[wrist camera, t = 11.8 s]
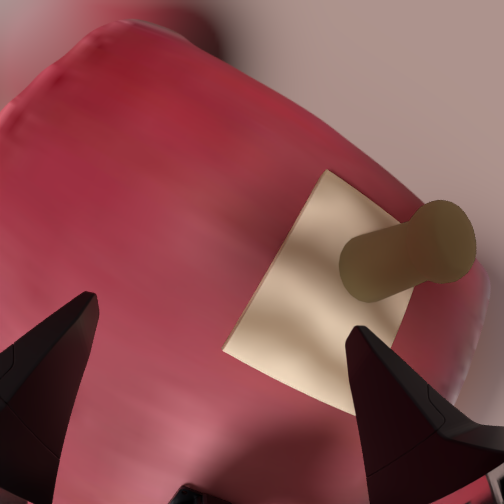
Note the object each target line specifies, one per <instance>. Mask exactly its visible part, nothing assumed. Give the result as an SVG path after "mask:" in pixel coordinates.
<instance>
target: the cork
mask: <svg viewBox="0 0 504 504" xmlns="http://www.w3.org/2000/svg"><path fill="white" fill-rule="evenodd" d="M475 256H476V239H475V234H474V230H473V227H472V225H471V222H470V220H469V219H468V217H467V215H466V214H465V212H464V211H462V209H461V208H460V207H459V206H457V205H456V204H454V203H452V202H449V201H444V200H436V201H432V202H429V203H427V204H425V205H423V206H421V207H420V208H419V209H418V210H417V211H416V213H415V214H414V215H413V216H412V217H411V219H410V221H408V222H404V223H401V224H397V225H394V226H390V227H387V228H383V229H380V230H376V231H373V232H369V233H366V234H362V235H359V236H356V237H354V238H351V239H350V240H349V241H348V242H347V243H346V244H345V246H344V248H343V250H342V252H341V254H340V259H339V272H340V277H341V280H342V282H343V285H344V287H345V288H346V289H347V291H348V292H349V293H350V295H352V296H353V297H354V298H356V299H357V300H359V301H362V302H366V303H372V302H377V301H380V300H383V299H385V298H387V297H390V296H392V295H395V294H397V293H400V292H402V291H404V290H407V289H409V288H411V287H414V286H416V285H418V284H421V283H423V282H425V281H427V280H429V281H432V282H434V283H440V284H444V283H450V282H455V281H457V280H459V279H460V278H462V277H463V276H464V275H466V274H467V273H468V271H469V270H470V269H471V267H472V265H473V263H474V261H475Z"/></svg>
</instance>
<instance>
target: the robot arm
mask: <svg viewBox="0 0 504 504" xmlns="http://www.w3.org/2000/svg"><path fill="white" fill-rule="evenodd" d="M98 319H99V306H98V300H97V295H96V294H95V293H92V292H88V291H85V292H83V293H81V294H80V295H78V296H77V297H75V298H74V299H73V300H71V301H70V302H68V303H67V304H66V305H64V306H63V307H61V308H60V309H59V310H57V311H56V312H54V313H53V314H52V315H50V316H49V317H48V318H46V319H45V320H43V321H42V322H41V323H39V324H38V325H37V326H35V327H34V328H33V329H31V330H30V331H29V332H27V333H26V334H25V335H23V336H22V337H21V338H20V339H18V340H17V341H16V342H14V344H12V345H10V346H9V347H8V348H7V349H5V350H4V351H3V352H1V353H0V504H28V501H29V502H31V503H33V504H52V501H53V494H54V488H55V482H56V477H57V472H58V467H59V462H60V460H59V459H60V457H61V452H62V448H63V443H64V439H65V435H66V431H67V427H68V424H69V420H70V416H71V413H72V409H73V406H74V402H75V399H76V395H77V392H78V389H79V386H80V383H81V380H82V377H83V373H84V370H85V368H86V365H87V362H88V359H89V355H90V352H91V347H92V343H93V339H94V335H95V331H96V327H97V323H98ZM345 351H346V360H347V369H348V378H349V384H350V389H351V394H352V399H353V404H354V409H355V414H356V419H357V424H358V430H359V435H360V441H361V447H362V453H363V459H364V465H365V472H366V477H367V478H366V479H367V486H368V494H369V501H370V504H504V427H503V426H489V425H481V424H478V423H475V422H474V421H472V420H471V419H469V418H468V417H467V416H465V415H464V414H463V413H462V412H460V411H459V410H458V409H457V408H456V407H454V406H453V405H452V404H451V403H449V402H448V401H447V400H446V399H445V398H443V397H442V396H441V395H440V394H439V393H438V392H437V391H436V390H435V389H434V388H432V387H431V386H430V385H429V384H427V382H426V381H425V380H424V379H423V378H422V377H421V376H420V375H419V374H418V373H416V372H415V371H414V370H413V369H412V368H411V367H410V366H409V365H408V364H407V363H406V362H405V361H404V360H402V359H401V358H400V357H399V356H398V355H397V354H396V353H395V352H394V351H393V350H392V349H391V348H389V347H388V346H387V345H386V344H385V343H384V342H383V341H382V340H381V339H380V338H379V337H377V336H376V335H375V334H374V333H373V332H372V331H371V330H370V329H369V328H368V327H366V326H364V325H356V326H354V327H353V329H352V331H351V332H350V334H349V336H348V337H347V339H346V341H345ZM182 491H187V492H186V493H184V492H182ZM168 504H231V503H230V502H227V501H225V500H222V499H219V498H216V497H213V496H211V495H208V494H203V493H200V492H198V491H195V490H193V489H191V488H188V487H185V486H183V487H180V488H179V489H178V491H177V492H176V493H175V495H174V496H173V498H172V499H171V500H170V502H169V503H168Z"/></svg>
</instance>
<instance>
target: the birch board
mask: <svg viewBox="0 0 504 504" xmlns="http://www.w3.org/2000/svg"><path fill="white" fill-rule="evenodd" d="M397 224H401V223H400V222H398V221H397V220H396V219H395V218H393V217H392V216H391V215H389V214H388V213H387V212H386V211H384V210H383V209H382V208H380V207H379V206H378V205H376V204H375V203H374V202H372V201H371V200H370V199H368V198H367V197H366V196H364V195H363V194H362V193H360V192H359V191H357V190H356V189H355V188H353V187H352V186H350V185H349V184H348V183H346V182H345V181H343V180H342V179H340V178H339V177H337V176H336V175H335V174H333V173H332V172H330V171H329V170H327V169H326V170H325V172H324V173H323V174H322V175H321V176H320V178H319V180H318V182H317V183H316V185H315V187H314V189H313V191H312V192H311V194H310V196H309V198H308V200H307V201H306V203H305V205H304V207H303V209H302V210H301V212H300V214H299V216H298V217H297V219H296V221H295V223H294V225H293V226H292V228H291V230H290V232H289V233H288V235H287V237H286V239H285V241H284V242H283V244H282V246H281V248H280V249H279V251H278V253H277V255H276V256H275V258H274V260H273V262H272V263H271V265H270V267H269V268H268V270H267V272H266V274H265V275H264V277H263V279H262V281H261V282H260V284H259V286H258V287H257V289H256V291H255V293H254V294H253V296H252V298H251V299H250V301H249V303H248V305H247V306H246V308H245V310H244V311H243V313H242V315H241V316H240V318H239V320H238V322H237V323H236V325H235V327H234V328H233V330H232V332H231V333H230V335H229V337H228V338H227V340H226V342H225V343H224V345H223V347H222V348H221V349H222V350H223V351H224V352H226V353H228V354H230V355H231V356H233V357H235V358H237V359H239V360H240V361H242V362H244V363H246V364H248V365H250V366H251V367H253V368H255V369H257V370H259V371H261V372H263V373H265V374H267V375H268V376H270V377H272V378H274V379H276V380H278V381H280V382H282V383H284V384H286V385H288V386H290V387H292V388H294V389H296V390H299V391H301V392H303V393H305V394H307V395H309V396H311V397H313V398H316V399H318V400H320V401H322V402H324V403H327V404H329V405H331V406H333V407H336V408H338V409H340V410H343V411H345V412H347V413H350V414H352V415H355V416H356V414H355V409H354V404H353V399H352V394H351V389H350V384H349V378H348V369H347V360H346V351H345V341H346V339H347V337H348V336H349V334H350V332H351V331H352V329H353V327H354V326H356V325H364V326H366V327H368V328H369V329H370V330H371V331H372V332H373V333H374V334H375V335H376V336H377V337H379V338H380V339H381V340H382V341H383V342H384V343H385V344H386V345H387V346H388V347H389V348H391V346H392V343H393V341H394V339H395V336H396V334H397V331H398V329H399V326H400V324H401V321H402V319H403V316H404V314H405V311H406V308H407V306H408V303H409V300H410V297H411V294H412V291H413V289H414V287H411V288H409V289H407V290H404V291H402V292H400V293H397V294H395V295H392V296H390V297H387V298H385V299H383V300H380V301H377V302H372V303H366V302H362V301H359V300H357V299H356V298H354V297H353V296H352V295H350V293H349V292H348V291H347V289H346V288H345V287H344V285H343V282H342V280H341V277H340V272H339V259H340V254H341V252H342V250H343V248H344V246H345V244H346V243H347V242H348V241H349V240H350V239H351V238H354V237H356V236H359V235H362V234H366V233H369V232H373V231H376V230H380V229H383V228H387V227H390V226H394V225H397Z"/></svg>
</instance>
